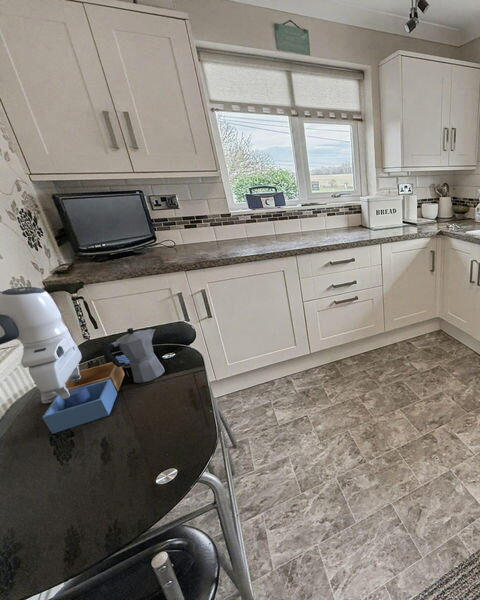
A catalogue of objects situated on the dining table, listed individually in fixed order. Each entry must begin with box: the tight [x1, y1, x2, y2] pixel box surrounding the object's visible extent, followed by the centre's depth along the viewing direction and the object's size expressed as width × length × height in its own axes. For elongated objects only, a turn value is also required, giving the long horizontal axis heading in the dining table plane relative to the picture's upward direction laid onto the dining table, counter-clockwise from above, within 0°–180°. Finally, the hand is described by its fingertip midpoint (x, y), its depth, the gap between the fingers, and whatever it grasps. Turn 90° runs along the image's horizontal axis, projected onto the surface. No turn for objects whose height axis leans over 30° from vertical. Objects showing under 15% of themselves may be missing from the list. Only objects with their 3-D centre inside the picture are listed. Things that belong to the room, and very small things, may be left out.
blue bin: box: [42, 379, 118, 435], centre depth 95 cm, size 12×12×6 cm
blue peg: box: [69, 386, 93, 407], centre depth 94 cm, size 4×4×7 cm
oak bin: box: [65, 361, 126, 393], centre depth 106 cm, size 12×12×6 cm
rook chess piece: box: [33, 382, 58, 405], centre depth 102 cm, size 4×4×8 cm
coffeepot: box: [102, 327, 166, 384], centre depth 108 cm, size 15×9×18 cm, turn 153°
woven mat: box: [114, 354, 131, 369], centre depth 122 cm, size 10×11×2 cm
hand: (72, 388), depth 92 cm, fingers open, 8 cm apart
